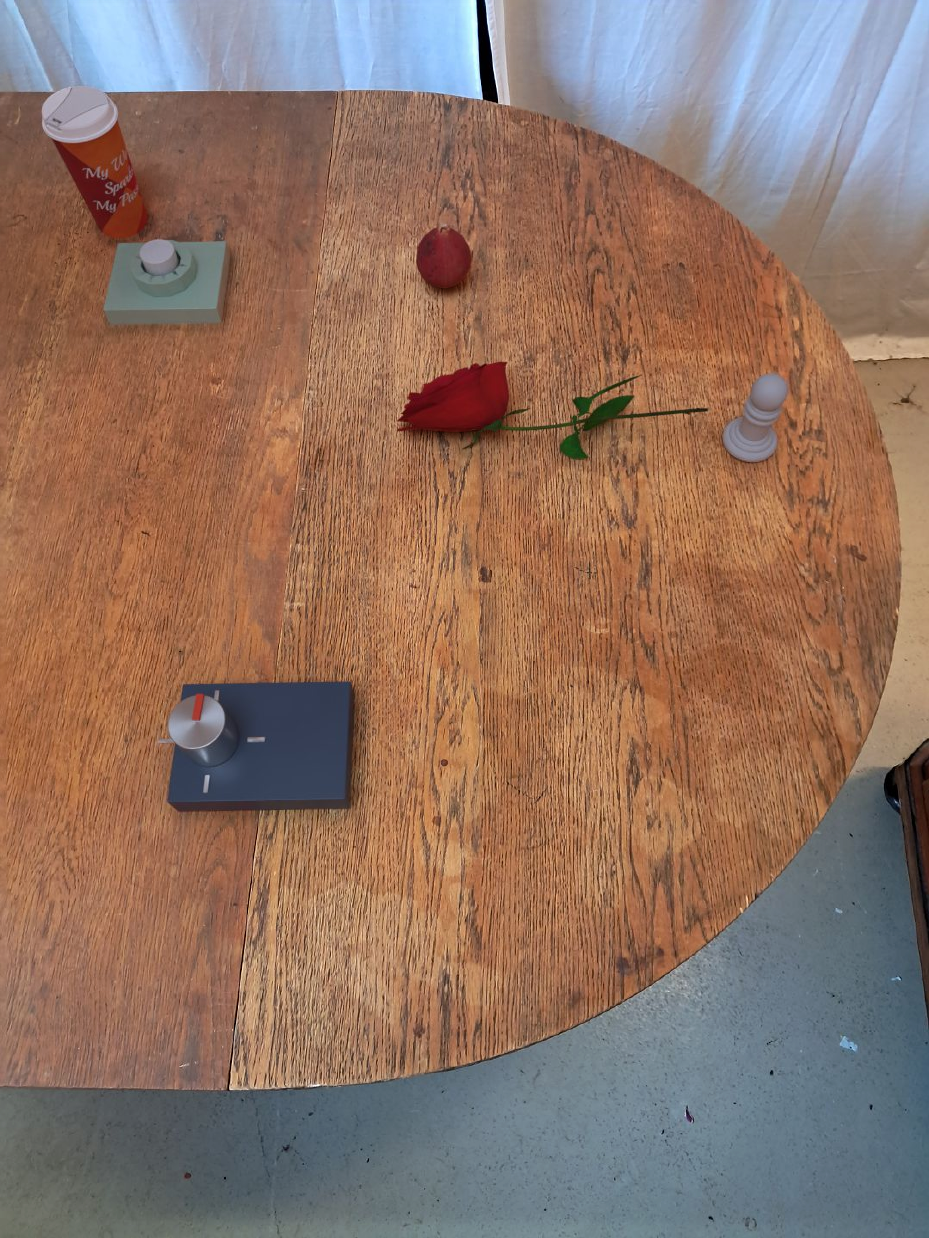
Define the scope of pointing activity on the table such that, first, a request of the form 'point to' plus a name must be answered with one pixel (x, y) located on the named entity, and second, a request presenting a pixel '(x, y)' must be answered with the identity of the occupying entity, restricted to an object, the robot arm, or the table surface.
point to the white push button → (159, 257)
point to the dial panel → (273, 749)
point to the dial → (203, 730)
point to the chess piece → (757, 420)
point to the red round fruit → (443, 257)
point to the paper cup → (96, 157)
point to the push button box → (169, 286)
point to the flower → (501, 406)
